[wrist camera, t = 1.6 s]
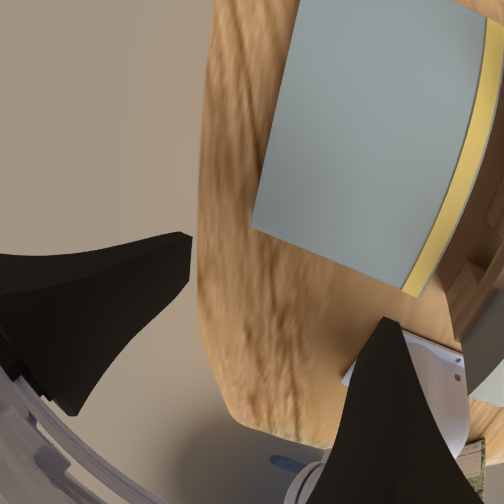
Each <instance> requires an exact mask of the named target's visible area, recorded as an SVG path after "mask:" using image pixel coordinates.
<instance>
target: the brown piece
mask: <svg viewBox="0 0 504 504" xmlns="http://www.w3.org/2000/svg"><path fill="white" fill-rule="evenodd" d="M485 221H486V222H487V223H488V224H489V225H490V226H491V227H492V229H493V230H494V231H495V232H496V233H497V235H498V236H499V237H500V238H501V240H502V243H501V245H500V247H499V249H498V251H497V253H496V254H495V256H494V258H493V260H492V262H491V264H490V266H489V267H488V269H487V270H486V269H484V268H482V267H480V266H478V265H476V264H474V263H472V262H470V261H469V260H467V259H466V260H465V262H464V264H463V266H462V267H461V269H460V271H459V273H458V275H457V276H456V278H455V280H454V281H453V283H452V285H451V287H450V288H449V290H448V292H447V293H446V298H447V302H448V307H449V312H450V317H451V322H452V327H453V333H454V339H455V341H456V342H459V343H462V341H463V340H464V339H465V337H466V336H467V335H468V334H469V332H470V331H471V330H472V328H473V327H474V325H475V324H476V323H477V321H478V320H479V319H480V317H481V316H482V314H483V313H484V311H485V310H486V308H487V307H488V305H489V304H490V302H491V301H492V299H493V298H494V296H495V295H496V293H497V291H498V290H499V289H501V290H503V291H504V172H503V175H502V178H501V181H500V184H499V186H498V189H497V192H496V194H495V197H494V199H493V202H492V204H491V207H490V209H489V212H488V214H487V216H486V219H485Z"/></svg>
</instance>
